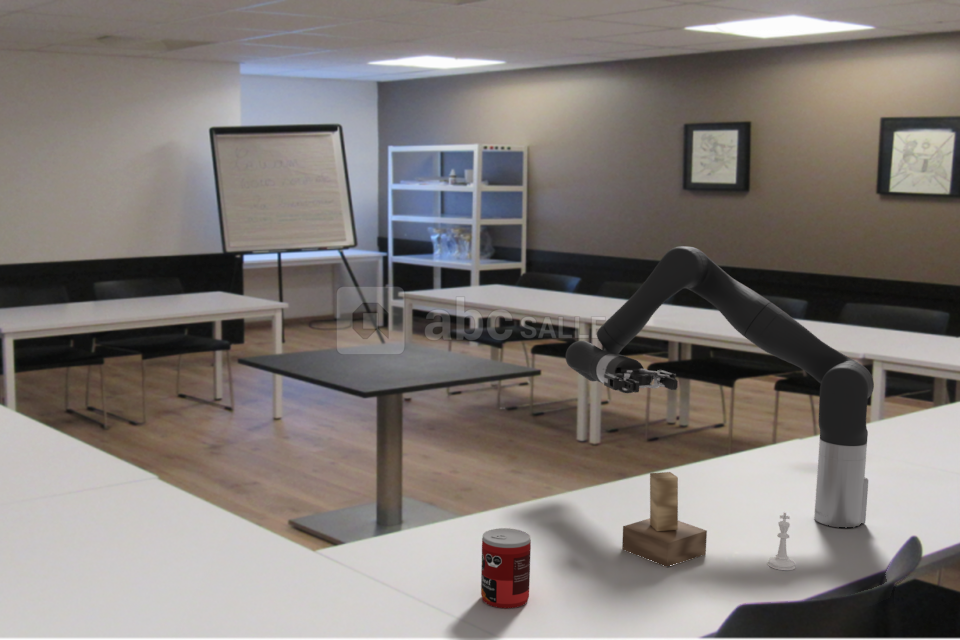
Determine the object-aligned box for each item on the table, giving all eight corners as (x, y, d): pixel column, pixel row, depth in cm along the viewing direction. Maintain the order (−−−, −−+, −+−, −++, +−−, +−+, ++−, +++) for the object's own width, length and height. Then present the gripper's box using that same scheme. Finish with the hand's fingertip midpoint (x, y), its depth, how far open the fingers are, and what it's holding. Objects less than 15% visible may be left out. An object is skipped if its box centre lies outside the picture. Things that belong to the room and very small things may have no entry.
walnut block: (660, 539, 195) (661, 514, 194) (705, 556, 187) (706, 530, 186) (622, 551, 188) (623, 526, 187) (666, 569, 180) (668, 543, 179)
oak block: (670, 523, 189) (670, 471, 188) (677, 529, 185) (677, 477, 184) (650, 524, 188) (650, 473, 187) (657, 531, 184) (657, 478, 184)
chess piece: (797, 571, 179) (800, 518, 177) (768, 569, 180) (772, 515, 178) (793, 561, 184) (797, 509, 182) (766, 559, 185) (769, 507, 183)
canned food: (478, 590, 168) (480, 528, 166) (525, 589, 168) (527, 527, 167) (482, 609, 160) (484, 544, 159) (532, 609, 161) (533, 543, 159)
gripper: (590, 357, 212) (625, 369, 197) (649, 354, 217) (688, 366, 201) (589, 391, 213) (624, 406, 198) (648, 387, 218) (687, 402, 202)
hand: (656, 386), depth 200 cm, fingers open, 8 cm apart
